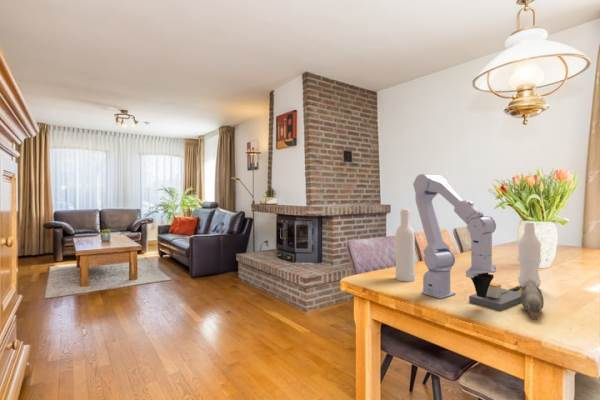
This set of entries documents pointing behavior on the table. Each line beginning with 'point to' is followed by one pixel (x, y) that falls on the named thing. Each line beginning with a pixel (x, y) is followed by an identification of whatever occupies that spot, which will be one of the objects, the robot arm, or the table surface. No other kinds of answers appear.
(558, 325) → the table surface
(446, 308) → the table surface
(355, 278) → the table surface
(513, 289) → the twin grey rods
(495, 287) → the handle
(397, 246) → the bottle
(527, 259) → the water bottle
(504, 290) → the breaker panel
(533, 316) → the decorative bird
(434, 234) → the robot arm
